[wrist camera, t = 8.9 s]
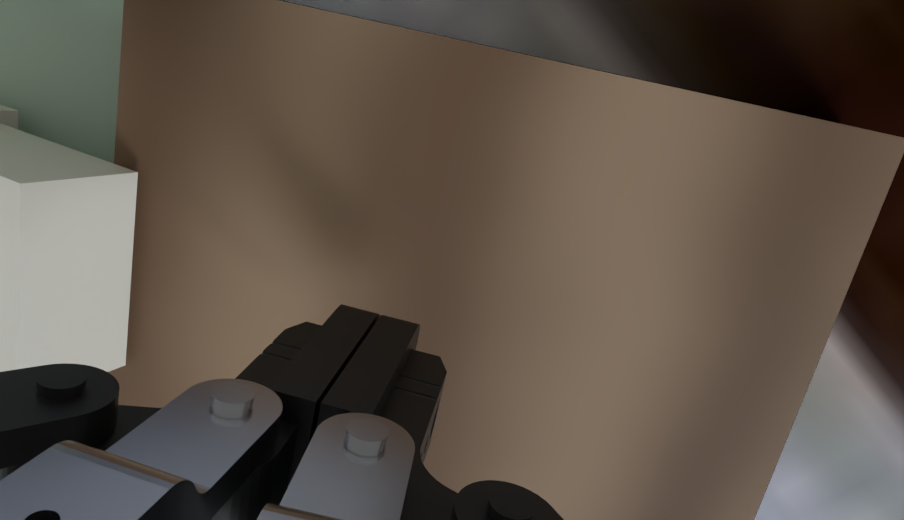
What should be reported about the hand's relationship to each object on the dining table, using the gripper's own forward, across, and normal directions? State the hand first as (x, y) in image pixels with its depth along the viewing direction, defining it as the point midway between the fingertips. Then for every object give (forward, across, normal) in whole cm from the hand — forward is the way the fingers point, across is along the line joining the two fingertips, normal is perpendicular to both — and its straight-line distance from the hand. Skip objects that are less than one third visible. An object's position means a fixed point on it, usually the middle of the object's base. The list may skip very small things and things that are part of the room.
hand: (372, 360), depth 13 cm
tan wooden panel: (+5, -1, 0) cm, 5 cm away
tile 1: (+2, +8, 0) cm, 8 cm away
